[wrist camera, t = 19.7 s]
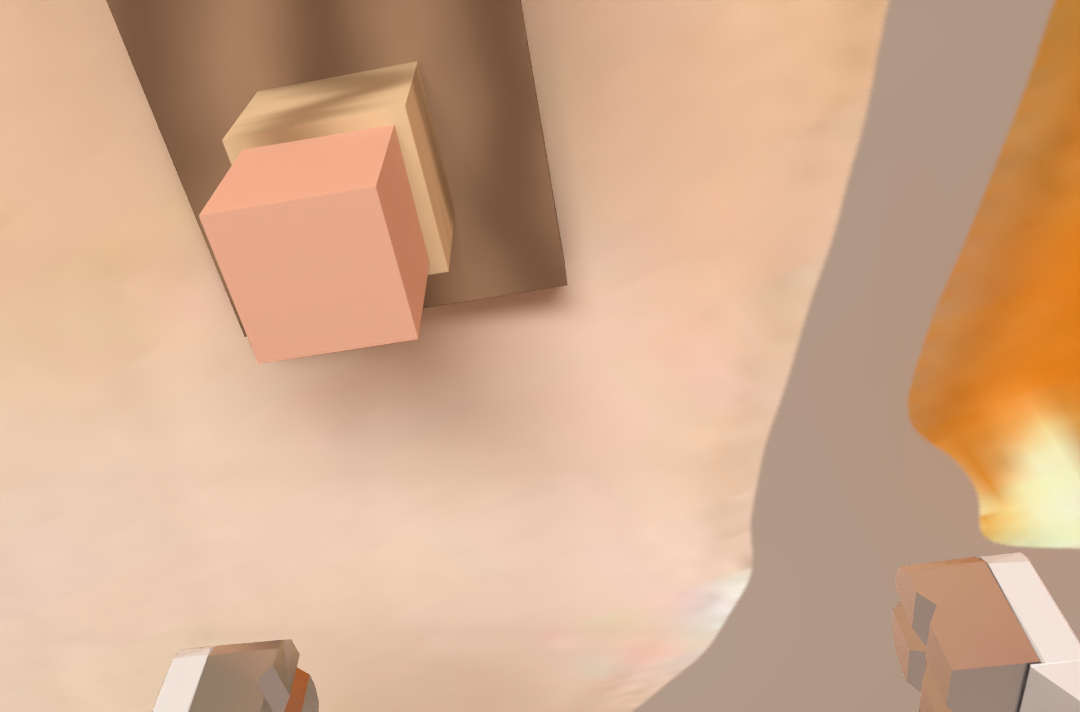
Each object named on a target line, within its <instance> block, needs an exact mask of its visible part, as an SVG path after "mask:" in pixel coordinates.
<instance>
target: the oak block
mask: <svg viewBox="0 0 1080 712" xmlns="http://www.w3.org/2000/svg"><path fill="white" fill-rule="evenodd" d="M393 124H394V125H395V129H396V133H397V137H398V141H399V145H400V149H401V152H402V156H403V160H404V164H405V168H406V172H407V176H408V180H409V184H410V188H411V192H412V195H413V199H414V203H415V207H416V211H417V215H418V219H419V223H420V227H421V231H422V234H423V238H424V242H425V246H426V250H427V254H428V258H429V262H430V263H429V269H428V275H431V274H437V273H443V272H449V264H450V255H451V245H452V236H453V226H454V217H455V210H454V206H453V202H452V197H451V193H450V189H449V185H448V181H447V177H446V173H445V169H444V165H443V161H442V157H441V153H440V149H439V145H438V141H437V137H436V133H435V129H434V125H433V121H432V117H431V113H430V109H429V105H428V101H427V97H426V93H425V89H424V85H423V81H422V77H421V73H420V69H419V65H418V61H416V62H411V63H406V64H400V65H395V66H390V67H384V68H379V69H374V70H369V71H363V72H358V73H353V74H348V75H342V76H337V77H332V78H327V79H321V80H316V81H311V82H306V83H300V84H295V85H290V86H284V87H279V88H274V89H269V90H263V91H258V92H257V93H256V94H255V96H254V97H253V98H252V100H251V101H250V102H249V104H248V105H247V107H246V108H245V109H244V111H243V112H242V113H241V115H240V116H239V118H238V119H237V120H236V122H235V123H234V124H233V126H232V127H231V128H230V130H229V131H228V133H227V134H226V135H225V137H224V138H223V139H222V141H223V144H224V147H225V149H226V152H227V154H228V157H229V160H230V162H231V165H233V163H234V162H235V160H236V159H237V157H238V156H239V154H240V153H241V151H242V150H245V149H251V148H256V147H262V146H268V145H274V144H280V143H286V142H292V141H298V140H304V139H310V138H316V137H322V136H328V135H334V134H340V133H345V132H351V131H357V130H363V129H369V128H375V127H381V126H387V125H393Z"/></svg>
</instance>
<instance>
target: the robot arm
mask: <svg viewBox="0 0 1080 712" xmlns="http://www.w3.org/2000/svg"><path fill="white" fill-rule="evenodd" d="M895 587H896V590H897V592H898V595H899V597H900V599H901V601H900V603H899V604H897V605H896V606H895V607H894V608H893V617H892V629H893V636H894V644H895V649H896V652H897V655H898V659H899V663H900V665H901V668H902V671H903V673H904V676H905V678H906V681H907V682H908V683H910V684H911V685H912V686H914V687H915V688H916V689H918V690H919V691H920V692H921V697H920V706H919V712H1080V642H1079V640H1078V639H1077V637H1076V635H1075V634H1074V632H1073V630H1072V629H1071V627H1070V626H1069V624H1068V622H1067V621H1066V619H1065V617H1064V616H1063V614H1062V612H1061V611H1060V609H1059V608H1058V606H1057V605H1056V603H1055V601H1054V599H1053V598H1052V596H1051V595H1050V593H1049V591H1048V590H1047V588H1046V587H1045V585H1044V583H1043V582H1042V580H1041V579H1040V577H1039V575H1038V574H1037V572H1036V570H1035V569H1034V567H1033V565H1032V564H1031V562H1030V561H1029V559H1028V558H1027V557H1026V556H1024V555H1023V554H1022V553H1021V552H1019V553H1011V554H1002V555H993V556H985V557H979V558H977V557H970V558H963V559H954V560H947V561H939V562H931V563H923V564H916V565H908V566H901V567H899V569H898V571H897V572H896V580H895ZM299 655H300V654H299V652H298V651H297V649H296V647H295V645H294V644H293V642H292V640H276V641H265V642H254V643H242V644H231V645H220V646H211V647H201V648H192V649H182V650H181V651H180V652H179V653H178V654H177V655H176V656H175V657H174V659H173V660H172V662H171V664H170V667H169V669H168V672H167V674H166V677H165V680H164V682H163V685H162V687H161V690H160V692H159V695H158V698H157V700H156V703H155V705H154V708H153V710H152V712H319V701H318V697H317V692H316V688H315V685H314V683H313V681H312V679H311V676H310V675H309V674H307V673H306V672H304V671H302V670H300V669H299V668H297V663H298V659H299Z"/></svg>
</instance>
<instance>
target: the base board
mask: <svg viewBox="0 0 1080 712" xmlns="http://www.w3.org/2000/svg"><path fill="white" fill-rule="evenodd" d="M107 3H108V5H109V8H110V10H111V13H112V15H113V17H114V20H115V22H116V25H117V27H118V30H119V32H120V34H121V37H122V39H123V42H124V44H125V47H126V49H127V51H128V54H129V56H130V59H131V61H132V64H133V66H134V68H135V71H136V73H137V76H138V78H139V81H140V83H141V85H142V88H143V90H144V93H145V95H146V98H147V100H148V102H149V105H150V107H151V110H152V112H153V115H154V117H155V119H156V122H157V124H158V127H159V129H160V132H161V134H162V137H163V139H164V141H165V144H166V146H167V149H168V151H169V154H170V156H171V158H172V161H173V163H174V166H175V168H176V171H177V173H178V175H179V178H180V180H181V183H182V185H183V188H184V190H185V192H186V195H187V197H188V200H189V202H190V205H191V207H192V209H193V212H194V214H195V217H196V219H197V222H198V224H199V226H200V229H201V231H202V234H203V236H204V239H205V241H206V243H207V246H208V248H209V251H210V253H211V256H212V258H213V260H214V263H215V265H216V268H217V270H218V273H219V275H220V278H221V280H222V282H223V285H224V287H225V290H226V292H227V295H228V297H229V299H230V302H231V304H232V307H233V309H234V312H235V314H236V316H237V319H238V321H239V324H240V326H241V329H242V331H243V333H244V336H245V337H247V335H246V332H245V330H244V327H243V325H242V322H241V320H240V317H239V315H238V312H237V310H236V307H235V305H234V302H233V300H232V297H231V295H230V292H229V290H228V287H227V285H226V282H225V280H224V278H223V275H222V273H221V270H220V268H219V265H218V263H217V260H216V258H215V255H214V253H213V250H212V248H211V245H210V243H209V240H208V238H207V235H206V233H205V230H204V228H203V225H202V223H201V221H200V218H199V214H200V213H201V211H202V210H203V208H204V207H205V205H206V204H207V202H208V201H209V199H210V198H211V196H212V195H213V193H214V192H215V190H216V189H217V187H218V186H219V184H220V183H221V181H222V180H223V178H224V177H225V175H226V174H227V172H228V171H229V169H230V168H231V166H232V165H231V162H230V160H229V157H228V154H227V152H226V149H225V147H224V144H223V141H222V139H223V138H224V137H225V135H226V134H227V133H228V131H229V130H230V128H231V127H232V126H233V124H234V123H235V122H236V120H237V119H238V118H239V116H240V115H241V113H242V112H243V111H244V109H245V108H246V107H247V105H248V104H249V102H250V101H251V100H252V98H253V97H254V96H255V94H256V93H257V92H258V91H263V90H269V89H274V88H279V87H284V86H290V85H295V84H300V83H306V82H311V81H316V80H321V79H327V78H332V77H337V76H342V75H348V74H353V73H358V72H363V71H369V70H374V69H379V68H384V67H390V66H395V65H400V64H406V63H411V62H416V61H418V65H419V69H420V73H421V77H422V81H423V85H424V89H425V93H426V97H427V101H428V105H429V109H430V113H431V117H432V121H433V125H434V129H435V133H436V137H437V141H438V145H439V149H440V153H441V157H442V161H443V165H444V169H445V173H446V177H447V181H448V185H449V189H450V193H451V197H452V202H453V206H454V210H455V217H454V226H453V236H452V245H451V255H450V264H449V272H443V273H437V274H431V275H428V276H427V283H426V290H425V297H424V304H423V308H428V307H434V306H440V305H447V304H453V303H459V302H465V301H472V300H478V299H484V298H490V297H497V296H503V295H509V294H515V293H522V292H528V291H534V290H540V289H547V288H553V287H559V286H565V285H567V279H566V270H565V262H564V256H563V250H562V245H561V239H560V233H559V227H558V221H557V215H556V209H555V203H554V197H553V191H552V185H551V179H550V173H549V167H548V161H547V155H546V149H545V143H544V137H543V131H542V125H541V119H540V114H539V108H538V102H537V96H536V90H535V84H534V78H533V72H532V66H531V60H530V54H529V48H528V42H527V36H526V30H525V24H524V18H523V12H522V6H521V0H107Z"/></svg>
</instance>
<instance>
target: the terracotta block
mask: <svg viewBox="0 0 1080 712" xmlns="http://www.w3.org/2000/svg"><path fill="white" fill-rule="evenodd" d="M199 218H200V221H201V223H202V225H203V228H204V230H205V233H206V235H207V238H208V240H209V243H210V245H211V248H212V250H213V253H214V255H215V258H216V260H217V263H218V265H219V268H220V270H221V273H222V275H223V278H224V280H225V282H226V285H227V287H228V290H229V292H230V295H231V297H232V300H233V302H234V305H235V307H236V310H237V312H238V315H239V317H240V320H241V322H242V325H243V327H244V330H245V332H246V335H247V337H248V339H249V342H250V344H251V347H252V349H253V352H254V354H255V357H256V359H257V362H258V364H260V363H267V362H273V361H280V360H286V359H293V358H299V357H306V356H312V355H319V354H325V353H332V352H338V351H345V350H351V349H358V348H364V347H371V346H377V345H384V344H390V343H397V342H403V341H410V340H416V339H418V338H419V331H420V324H421V317H422V311H423V304H424V297H425V290H426V283H427V276H428V269H429V263H430V262H429V258H428V254H427V250H426V246H425V242H424V238H423V234H422V231H421V227H420V223H419V219H418V215H417V211H416V207H415V203H414V199H413V195H412V192H411V188H410V184H409V180H408V176H407V172H406V168H405V164H404V160H403V156H402V152H401V149H400V145H399V141H398V137H397V133H396V129H395V125H394V124H393V125H387V126H381V127H375V128H369V129H363V130H357V131H351V132H345V133H340V134H334V135H328V136H322V137H316V138H310V139H304V140H298V141H292V142H286V143H280V144H274V145H268V146H262V147H256V148H251V149H245V150H242V151H241V153H240V154H239V156H238V157H237V159H236V160H235V162H234V163H233V165H232V166H231V168H230V169H229V171H228V172H227V174H226V175H225V177H224V178H223V180H222V181H221V183H220V184H219V186H218V187H217V189H216V190H215V192H214V193H213V195H212V196H211V198H210V199H209V201H208V202H207V204H206V205H205V207H204V208H203V210H202V211H201V213H200V214H199Z"/></svg>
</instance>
